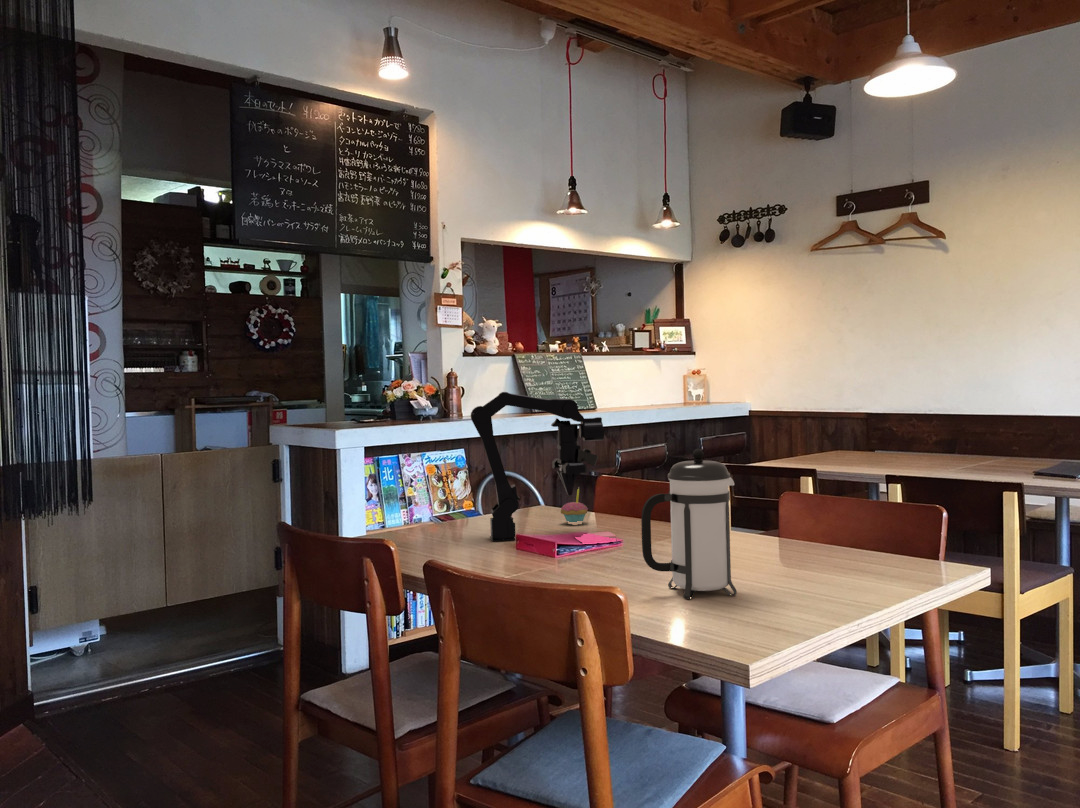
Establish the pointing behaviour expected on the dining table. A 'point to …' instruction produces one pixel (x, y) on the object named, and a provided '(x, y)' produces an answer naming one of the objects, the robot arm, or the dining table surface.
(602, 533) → the pink rectangular block
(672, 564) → the coffee press
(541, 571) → the dining table surface
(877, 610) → the dining table surface
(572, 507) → the cupcake
